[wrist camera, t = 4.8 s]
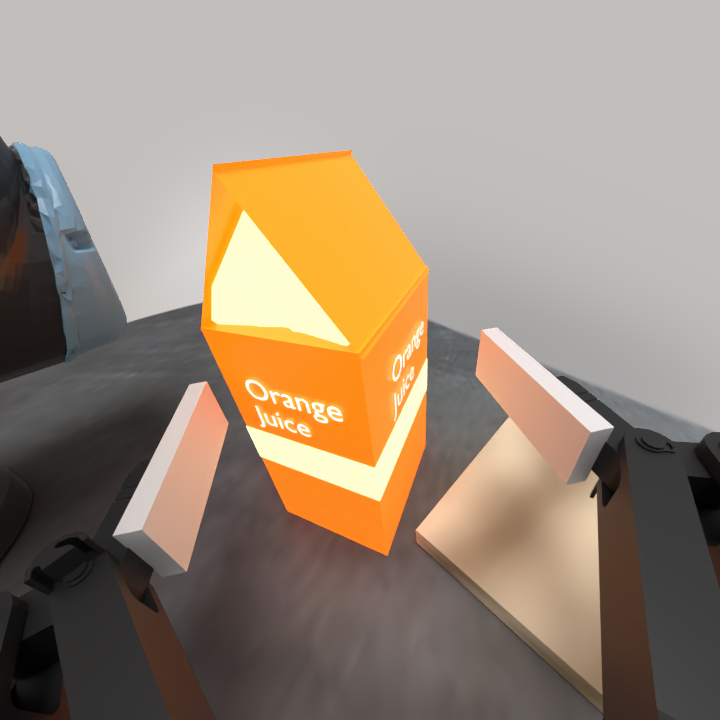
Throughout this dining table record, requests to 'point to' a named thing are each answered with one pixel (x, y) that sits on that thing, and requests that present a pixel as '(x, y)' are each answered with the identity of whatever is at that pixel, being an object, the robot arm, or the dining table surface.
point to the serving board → (526, 552)
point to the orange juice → (320, 336)
